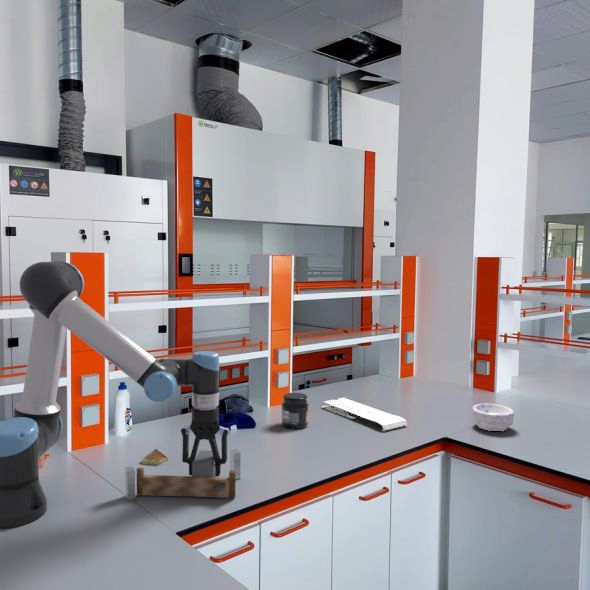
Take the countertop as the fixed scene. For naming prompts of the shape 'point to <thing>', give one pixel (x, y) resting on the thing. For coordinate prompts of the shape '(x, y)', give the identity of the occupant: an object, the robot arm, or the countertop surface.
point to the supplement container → (294, 410)
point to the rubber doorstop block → (203, 464)
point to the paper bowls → (492, 416)
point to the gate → (186, 485)
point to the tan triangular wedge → (154, 458)
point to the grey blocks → (131, 474)
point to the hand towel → (365, 413)
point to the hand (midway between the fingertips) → (204, 486)
